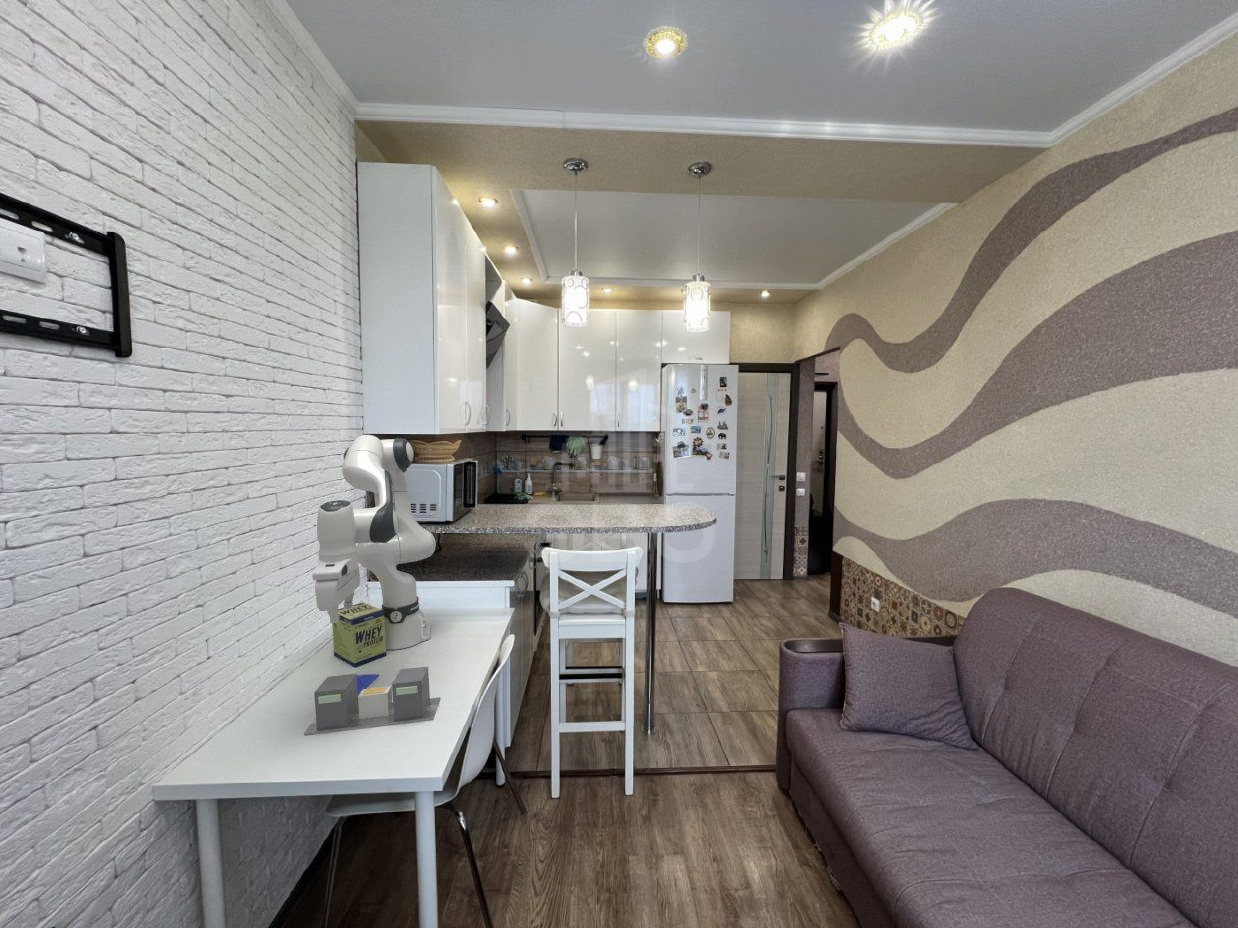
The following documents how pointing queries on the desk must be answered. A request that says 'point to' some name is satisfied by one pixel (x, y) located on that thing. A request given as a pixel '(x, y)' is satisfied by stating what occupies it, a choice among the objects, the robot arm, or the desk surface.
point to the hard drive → (365, 681)
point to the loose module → (375, 702)
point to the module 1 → (336, 701)
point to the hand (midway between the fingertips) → (342, 614)
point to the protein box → (359, 634)
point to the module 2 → (411, 693)
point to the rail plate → (376, 720)
